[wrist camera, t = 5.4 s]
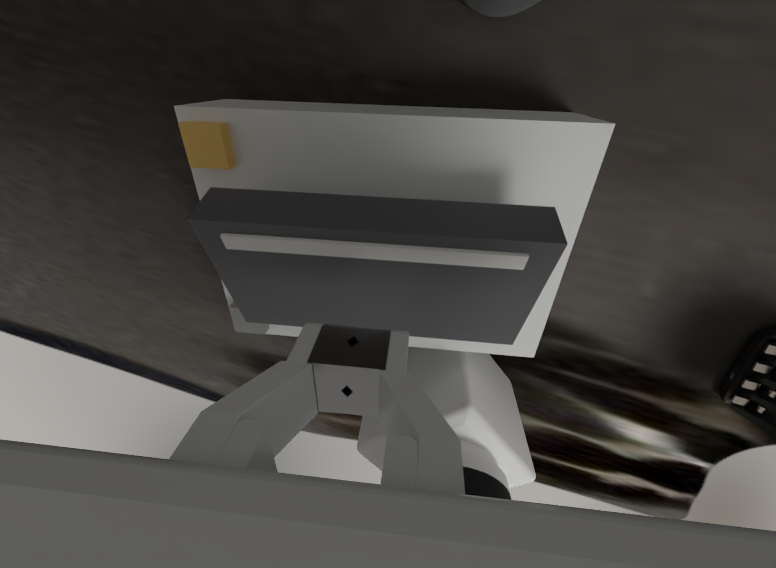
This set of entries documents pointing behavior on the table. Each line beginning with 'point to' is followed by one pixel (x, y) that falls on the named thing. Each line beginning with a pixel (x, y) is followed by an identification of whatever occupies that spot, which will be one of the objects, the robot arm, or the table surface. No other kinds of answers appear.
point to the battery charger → (755, 383)
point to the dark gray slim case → (380, 260)
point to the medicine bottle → (467, 419)
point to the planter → (499, 6)
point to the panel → (402, 168)
